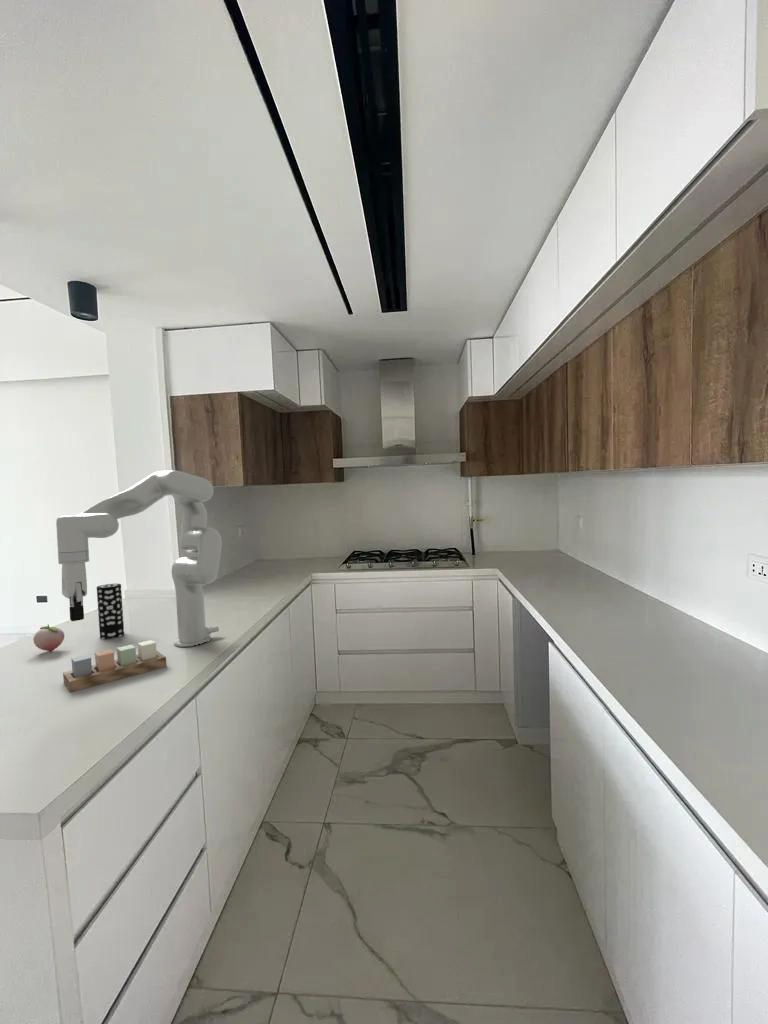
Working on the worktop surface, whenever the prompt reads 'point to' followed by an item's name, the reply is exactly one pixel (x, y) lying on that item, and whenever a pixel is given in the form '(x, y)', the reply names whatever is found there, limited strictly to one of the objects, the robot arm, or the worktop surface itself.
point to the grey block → (81, 666)
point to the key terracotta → (104, 660)
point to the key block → (113, 672)
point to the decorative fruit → (48, 638)
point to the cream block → (147, 650)
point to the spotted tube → (110, 611)
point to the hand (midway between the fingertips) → (77, 619)
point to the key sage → (126, 655)
